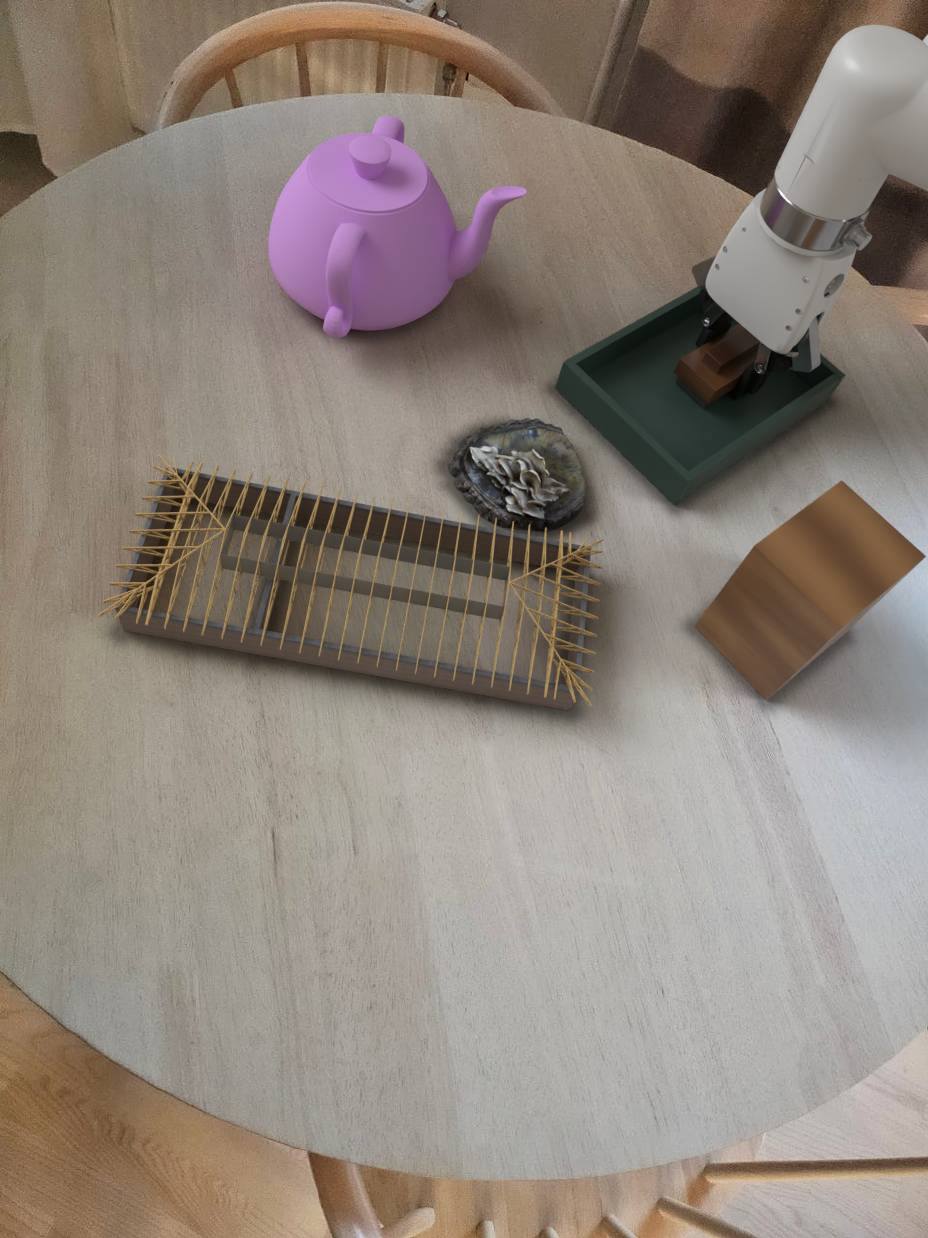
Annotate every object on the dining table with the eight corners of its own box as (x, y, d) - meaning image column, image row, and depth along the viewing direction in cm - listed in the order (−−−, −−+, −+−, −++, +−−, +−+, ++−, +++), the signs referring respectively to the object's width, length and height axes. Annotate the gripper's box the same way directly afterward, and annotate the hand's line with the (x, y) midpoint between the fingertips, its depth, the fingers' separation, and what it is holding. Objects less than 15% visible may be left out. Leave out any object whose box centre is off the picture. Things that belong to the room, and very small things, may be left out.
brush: (739, 338, 91) (757, 305, 88) (773, 368, 90) (793, 336, 86) (669, 381, 87) (684, 348, 84) (703, 413, 86) (720, 381, 82)
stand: (773, 565, 80) (841, 479, 69) (844, 634, 77) (926, 556, 67) (693, 626, 76) (754, 545, 65) (766, 700, 73) (841, 629, 63)
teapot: (479, 399, 84) (506, 276, 72) (238, 342, 83) (225, 208, 71) (516, 236, 95) (546, 106, 83) (304, 185, 94) (302, 45, 82)
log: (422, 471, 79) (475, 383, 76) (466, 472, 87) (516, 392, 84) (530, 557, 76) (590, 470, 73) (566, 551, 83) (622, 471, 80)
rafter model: (107, 638, 68) (89, 596, 63) (164, 481, 75) (152, 431, 70) (579, 723, 70) (601, 689, 65) (592, 562, 77) (612, 519, 72)
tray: (711, 298, 94) (724, 270, 91) (828, 400, 90) (845, 374, 87) (554, 388, 86) (563, 361, 83) (674, 506, 81) (688, 481, 78)
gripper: (924, 256, 72) (815, 416, 88) (763, 130, 77) (687, 302, 93) (865, 293, 69) (763, 451, 85) (701, 159, 74) (633, 332, 90)
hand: (724, 372), depth 88 cm, fingers closed on brush, 4 cm apart
